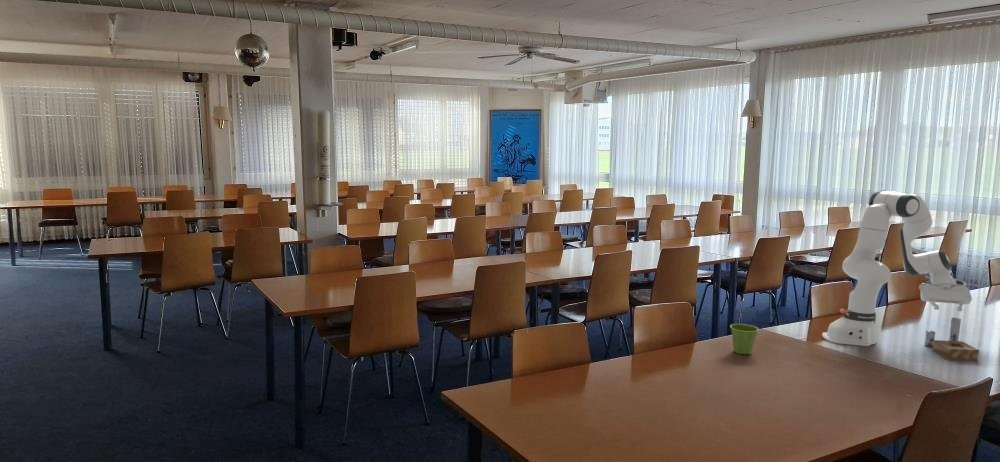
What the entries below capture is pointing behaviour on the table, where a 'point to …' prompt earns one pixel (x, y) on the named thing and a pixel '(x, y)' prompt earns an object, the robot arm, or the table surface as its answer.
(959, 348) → the hole block
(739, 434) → the table surface
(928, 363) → the table surface
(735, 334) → the plant pot
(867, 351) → the table surface
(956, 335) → the long pin
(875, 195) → the robot arm
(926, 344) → the short pin
